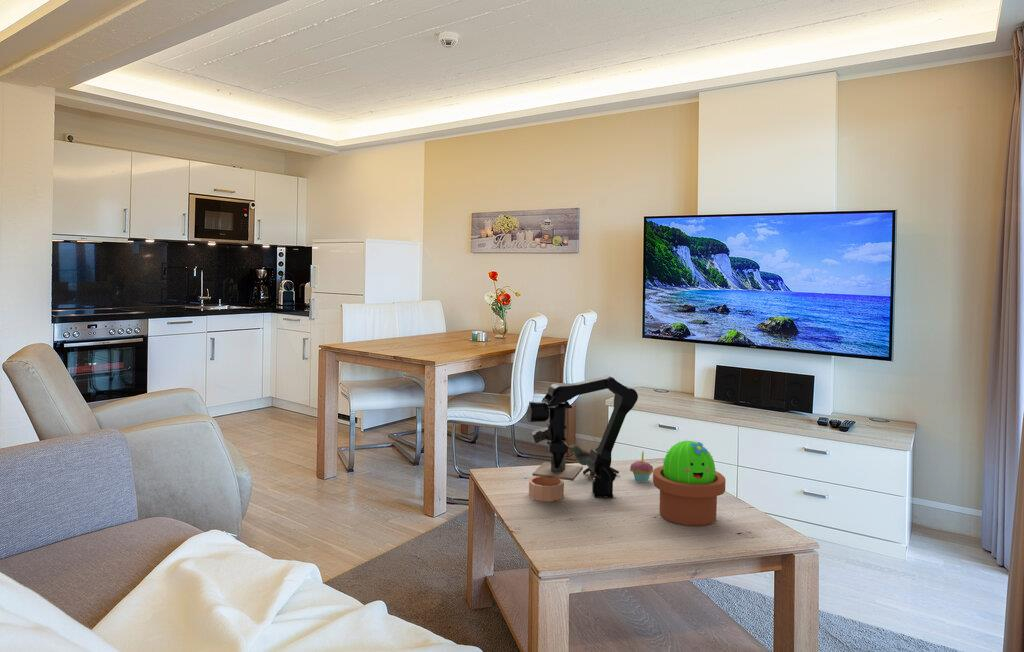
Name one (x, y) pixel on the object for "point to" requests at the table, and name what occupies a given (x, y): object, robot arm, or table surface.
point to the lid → (558, 470)
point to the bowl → (546, 488)
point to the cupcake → (641, 470)
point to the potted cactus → (688, 485)
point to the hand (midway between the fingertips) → (556, 466)
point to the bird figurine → (584, 458)
